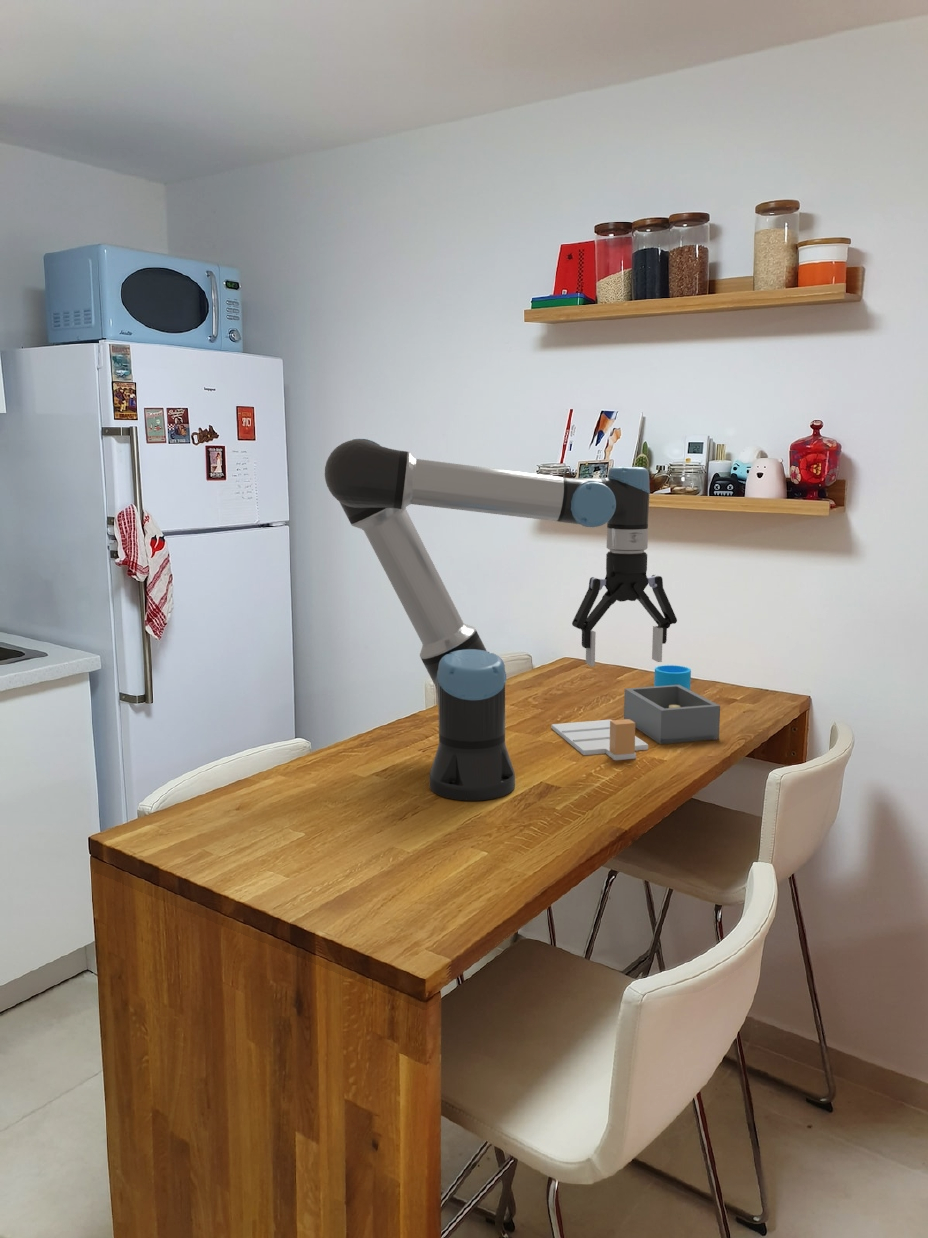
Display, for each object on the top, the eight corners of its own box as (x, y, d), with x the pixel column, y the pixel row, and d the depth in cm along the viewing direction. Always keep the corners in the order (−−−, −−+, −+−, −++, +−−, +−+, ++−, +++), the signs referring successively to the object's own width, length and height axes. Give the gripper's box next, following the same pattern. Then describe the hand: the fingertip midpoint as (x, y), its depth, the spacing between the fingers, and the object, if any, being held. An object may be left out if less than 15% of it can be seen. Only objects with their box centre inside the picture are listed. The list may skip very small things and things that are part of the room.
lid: (592, 762, 181) (592, 727, 180) (551, 728, 203) (551, 697, 202) (657, 756, 185) (658, 721, 183) (611, 723, 207) (611, 692, 205)
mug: (684, 710, 217) (685, 674, 215) (649, 705, 221) (650, 671, 219) (698, 697, 227) (699, 664, 226) (664, 693, 231) (665, 660, 229)
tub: (660, 744, 192) (661, 710, 191) (623, 719, 209) (624, 688, 208) (718, 739, 195) (720, 705, 194) (678, 715, 212) (679, 684, 211)
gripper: (570, 555, 171) (568, 671, 175) (697, 551, 177) (693, 663, 181) (556, 550, 178) (554, 662, 182) (679, 546, 184) (674, 654, 188)
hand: (623, 662), depth 181 cm, fingers open, 13 cm apart
